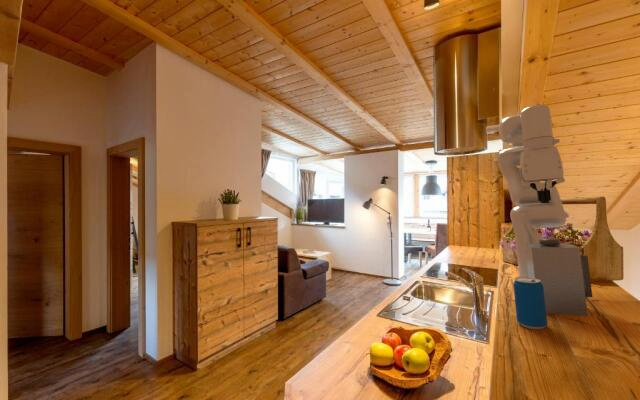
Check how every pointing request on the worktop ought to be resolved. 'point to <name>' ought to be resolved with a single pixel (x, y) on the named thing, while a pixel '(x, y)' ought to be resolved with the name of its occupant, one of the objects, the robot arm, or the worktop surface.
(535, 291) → the beverage can
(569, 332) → the worktop surface
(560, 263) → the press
